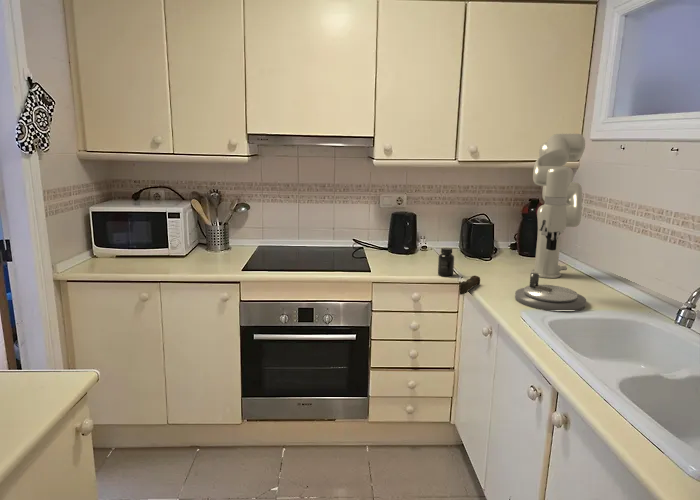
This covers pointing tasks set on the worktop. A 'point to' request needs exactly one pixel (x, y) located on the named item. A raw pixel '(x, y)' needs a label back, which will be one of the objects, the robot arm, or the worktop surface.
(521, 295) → the dial base
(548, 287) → the dial
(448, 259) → the supplement bottle
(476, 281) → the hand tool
